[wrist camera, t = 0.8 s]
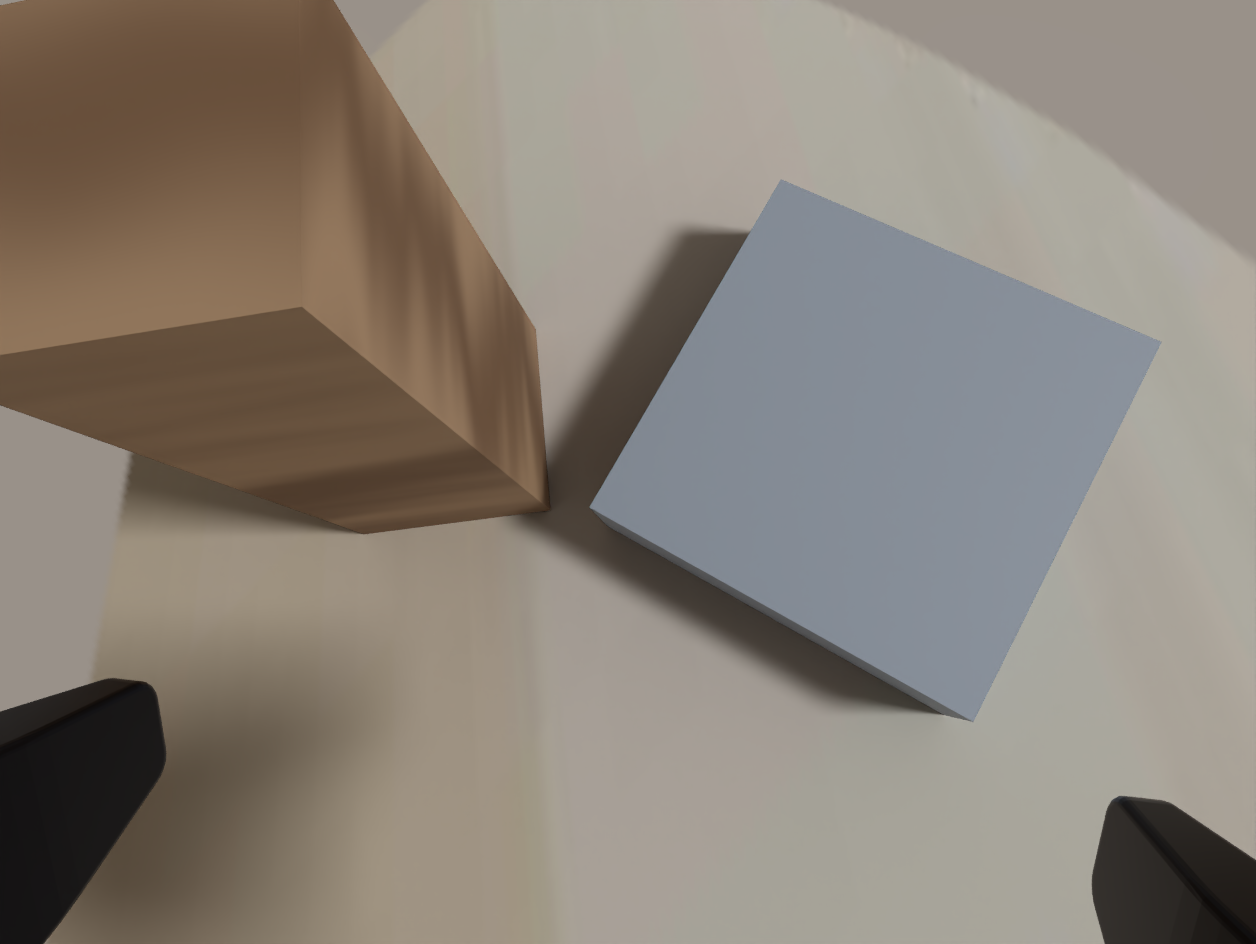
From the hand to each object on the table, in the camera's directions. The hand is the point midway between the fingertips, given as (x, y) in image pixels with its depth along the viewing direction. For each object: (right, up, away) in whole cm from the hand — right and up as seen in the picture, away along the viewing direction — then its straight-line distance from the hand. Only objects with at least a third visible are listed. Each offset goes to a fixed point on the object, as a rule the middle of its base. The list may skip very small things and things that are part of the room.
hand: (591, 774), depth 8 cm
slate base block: (+6, +3, +13) cm, 15 cm away
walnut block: (-4, +4, +15) cm, 16 cm away
